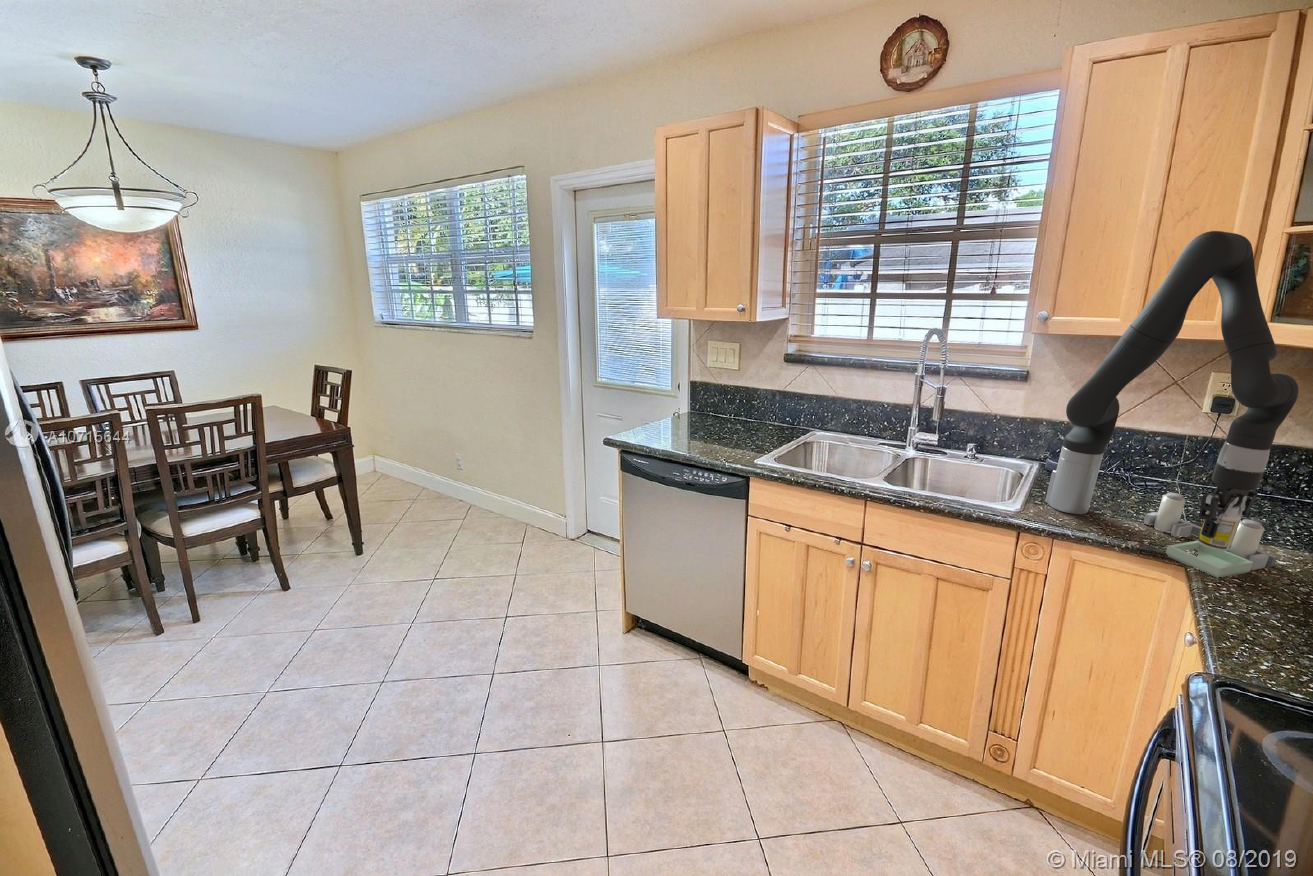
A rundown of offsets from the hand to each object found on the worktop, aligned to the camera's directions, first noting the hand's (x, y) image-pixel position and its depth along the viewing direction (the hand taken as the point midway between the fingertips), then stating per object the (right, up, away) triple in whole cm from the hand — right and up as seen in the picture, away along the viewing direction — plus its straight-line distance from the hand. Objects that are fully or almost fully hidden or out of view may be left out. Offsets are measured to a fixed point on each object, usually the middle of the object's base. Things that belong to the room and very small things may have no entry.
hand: (1216, 534), depth 132 cm
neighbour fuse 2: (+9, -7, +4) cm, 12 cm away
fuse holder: (+8, -4, +12) cm, 15 cm away
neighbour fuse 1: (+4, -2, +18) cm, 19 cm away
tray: (0, -7, +2) cm, 7 cm away
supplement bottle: (0, -3, +1) cm, 3 cm away
